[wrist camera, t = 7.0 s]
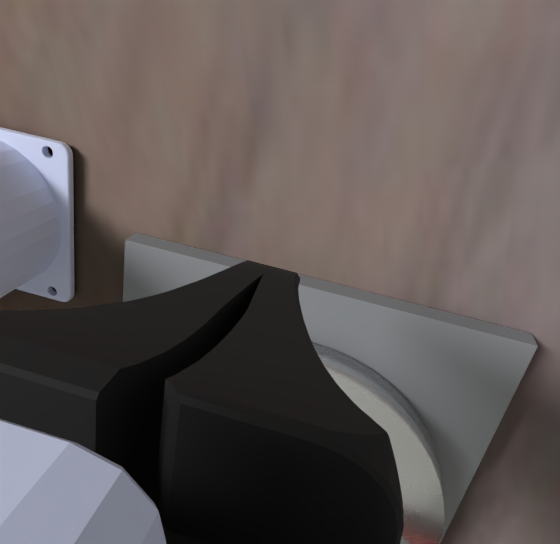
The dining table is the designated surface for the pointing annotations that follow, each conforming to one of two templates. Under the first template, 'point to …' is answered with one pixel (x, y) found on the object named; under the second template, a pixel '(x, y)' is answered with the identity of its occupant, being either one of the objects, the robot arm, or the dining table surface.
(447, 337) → the slate base plate
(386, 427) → the round dial
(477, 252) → the dining table surface
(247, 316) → the robot arm
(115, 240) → the dining table surface
